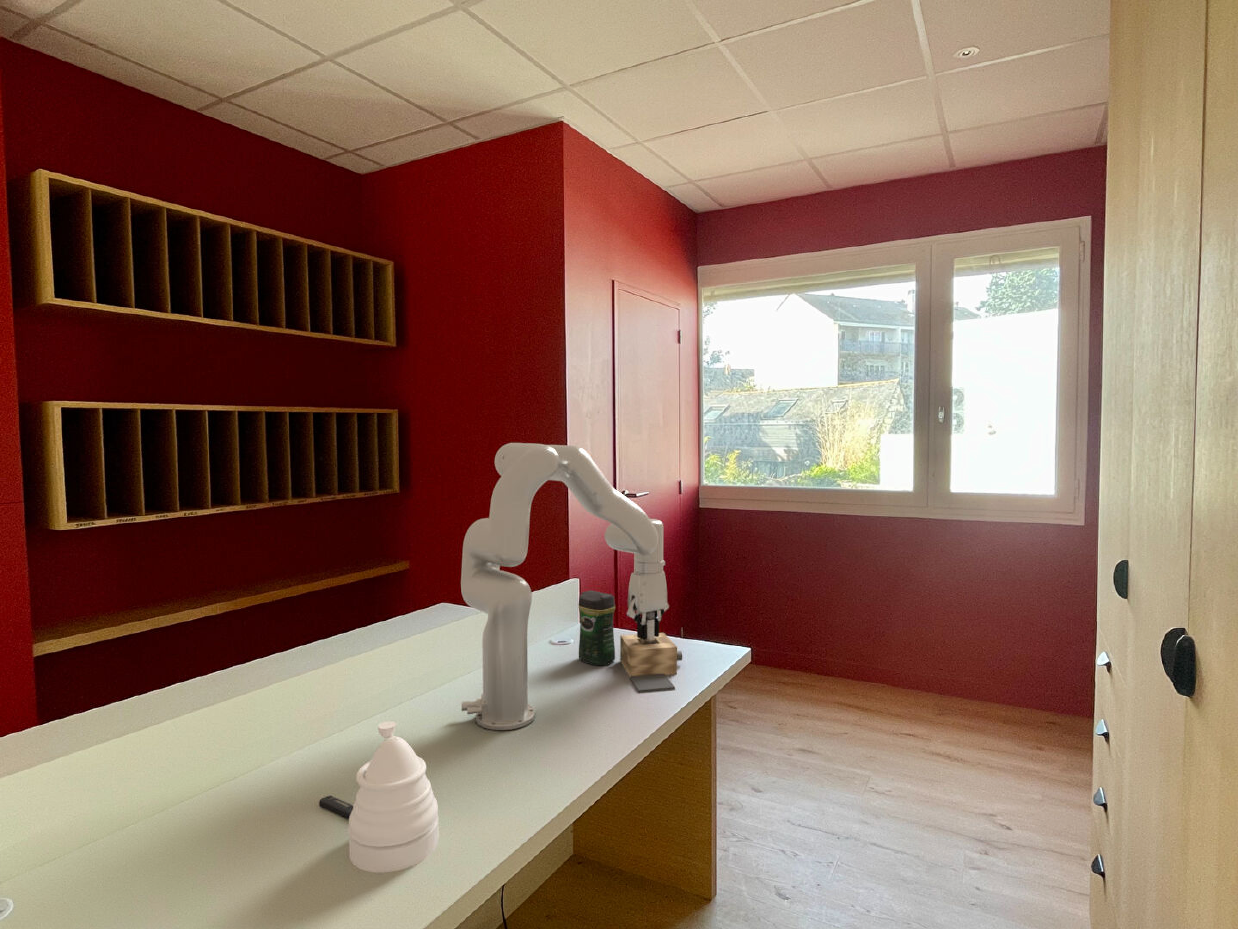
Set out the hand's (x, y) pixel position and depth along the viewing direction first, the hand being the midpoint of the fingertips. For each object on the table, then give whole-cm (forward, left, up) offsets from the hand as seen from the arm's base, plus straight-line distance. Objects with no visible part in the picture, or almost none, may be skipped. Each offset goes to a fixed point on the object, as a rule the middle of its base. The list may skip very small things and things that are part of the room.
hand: (648, 636), depth 178 cm
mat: (-2, -11, -8) cm, 14 cm away
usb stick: (-66, -53, -9) cm, 85 cm away
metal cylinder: (0, 0, -5) cm, 5 cm away
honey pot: (-57, -64, -9) cm, 86 cm away
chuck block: (+1, 0, -8) cm, 8 cm away
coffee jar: (-12, +8, -9) cm, 17 cm away
